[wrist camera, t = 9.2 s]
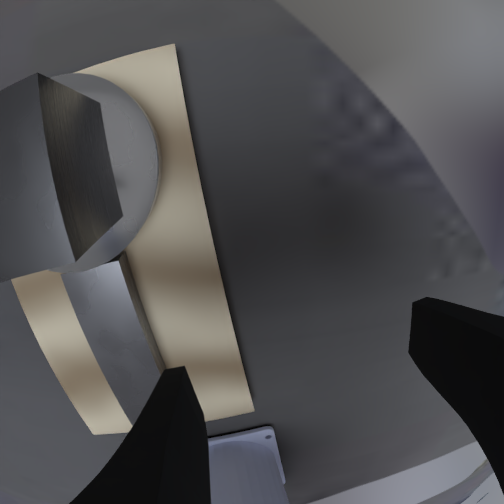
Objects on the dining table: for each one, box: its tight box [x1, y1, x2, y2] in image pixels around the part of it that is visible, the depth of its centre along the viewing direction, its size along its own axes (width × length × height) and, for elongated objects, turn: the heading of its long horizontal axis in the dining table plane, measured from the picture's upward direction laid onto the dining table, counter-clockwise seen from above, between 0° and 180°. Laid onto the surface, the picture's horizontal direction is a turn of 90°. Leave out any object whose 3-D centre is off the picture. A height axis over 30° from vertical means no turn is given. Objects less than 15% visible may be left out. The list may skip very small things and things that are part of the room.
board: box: [11, 44, 254, 435], centre depth 16 cm, size 22×12×1 cm, turn 10°
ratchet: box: [48, 73, 167, 426], centre depth 13 cm, size 21×9×4 cm, turn 10°
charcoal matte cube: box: [0, 73, 123, 282], centre depth 9 cm, size 5×5×6 cm
